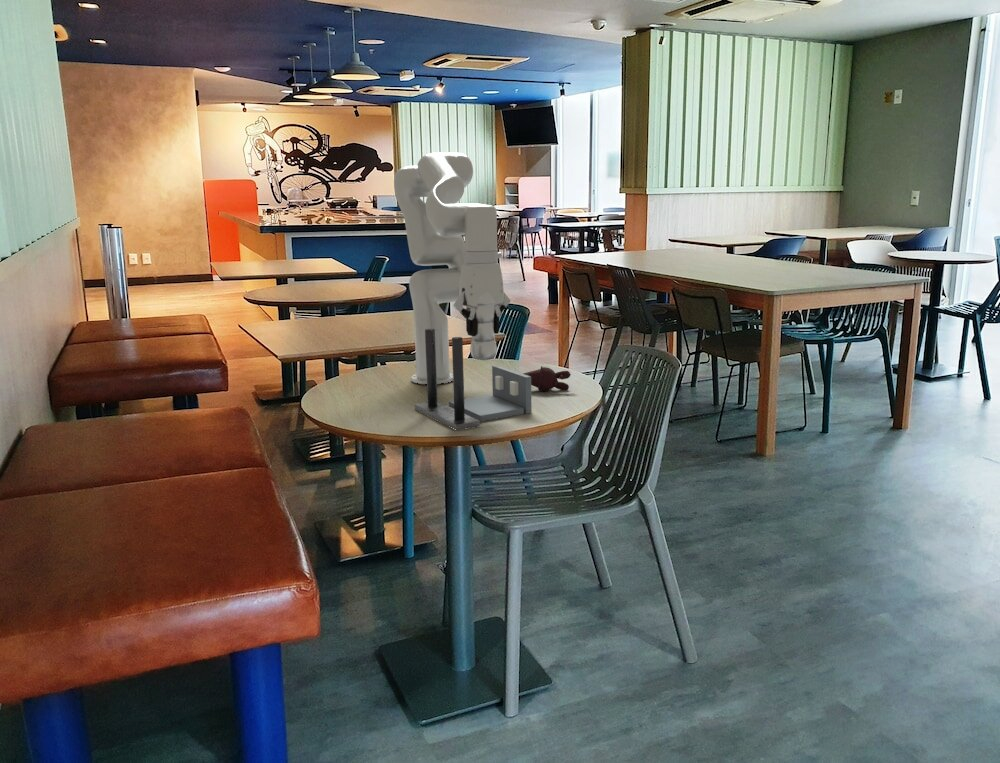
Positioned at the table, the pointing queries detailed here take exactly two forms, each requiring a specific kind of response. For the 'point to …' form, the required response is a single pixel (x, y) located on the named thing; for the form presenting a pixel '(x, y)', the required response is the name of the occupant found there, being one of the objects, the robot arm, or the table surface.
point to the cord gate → (441, 411)
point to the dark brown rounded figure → (548, 379)
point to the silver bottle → (484, 329)
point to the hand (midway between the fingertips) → (483, 333)
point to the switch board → (501, 396)
